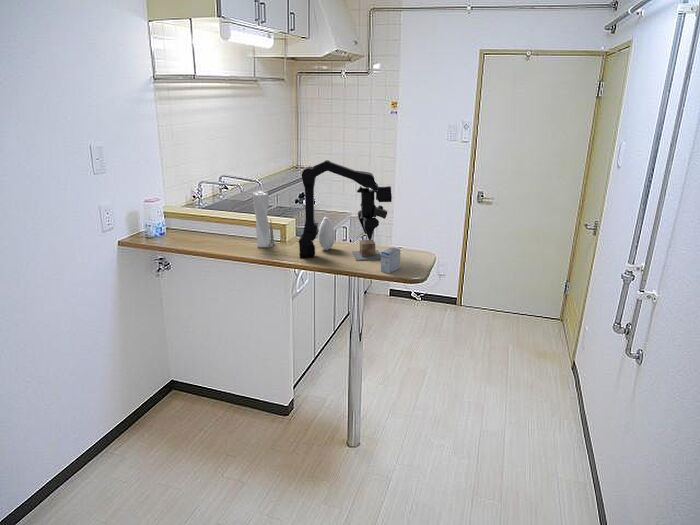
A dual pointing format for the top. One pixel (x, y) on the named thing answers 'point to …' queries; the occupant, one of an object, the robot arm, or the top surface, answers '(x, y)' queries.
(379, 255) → the mat
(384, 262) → the medicine box
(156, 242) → the top surface
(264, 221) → the skyscraper
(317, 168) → the robot arm
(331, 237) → the white elongated ovoid
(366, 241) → the cube
